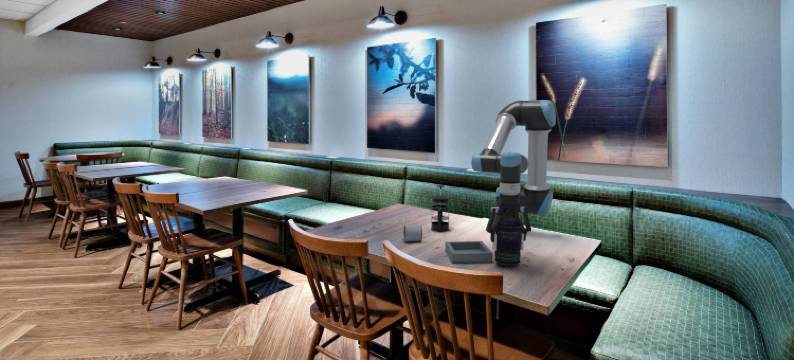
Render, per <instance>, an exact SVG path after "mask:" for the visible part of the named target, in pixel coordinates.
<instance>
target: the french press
mask: <svg viewBox="0 0 794 360" xmlns="http://www.w3.org/2000/svg"><path fill="white" fill-rule="evenodd" d="M436 187H438V188H439V195H433V196H431V198H432V202H433V203H437V204H433V205H431V211H435V212H437V214H436V215H432V216H431V220H434V221H431V227H430V230H431V231H433V232H437V233H444V232H448V231H450V216H447V215H443V212H446V211H447V212H449V211H450V206H449V205H447V204H446V203H449V201H450V200H449V199H450V196H447V195H442V189H443V188H445V187H446V186H445V185H443V184H438V185H436ZM447 220H448V221H447Z"/></svg>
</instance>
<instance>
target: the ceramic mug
mask: <svg viewBox="0 0 794 360" xmlns="http://www.w3.org/2000/svg"><path fill="white" fill-rule="evenodd" d="M422 238H423V229H422V226H421V225H413V224H405V225H404V226H403V241H404V243H405V242H420V241H422V240H423V239H422Z"/></svg>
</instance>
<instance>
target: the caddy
mask: <svg viewBox="0 0 794 360" xmlns="http://www.w3.org/2000/svg"><path fill="white" fill-rule="evenodd" d="M444 250H445V252H446V255H447V256H448V258H449V260H450V261H451V264H485V263H487V264H488V263H489V264H490V263H493V251H491V250H490V248H489V247H488V246H487V245H486V244H485V243H484V241H483V240H464V241H463V240H462V241H460V240H459V241H445V249H444Z"/></svg>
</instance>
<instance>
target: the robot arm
mask: <svg viewBox="0 0 794 360" xmlns="http://www.w3.org/2000/svg"><path fill="white" fill-rule="evenodd" d="M556 119H557V115H556V107H555V104H554V102H553V101H551V100H549V99H547V100H546V99H545V100H544V99H539V100H538V99H537V100H535V99H534V100H532V99H531V100H516V101H513V102H511V103H509V104H507V105H506V106H505V107H503V108H502V109H500V111H499V113H498V114H497V116H496V118H495V124H494V126H493V129H492V130H491V133H490V135H489V137H488V139H487V141H486V143H485V145H484V147H483V149H482V151H481V152H480V153H474V154H473V155H472V157H471V161H470V162H471V164H470V165H471V169H472V170H473V172H479V173H492V174H496V173H497V174H500V175H499V187H497V188H496V190H495V191H496V192H495V207H494V206H491V207H490V214H489V218H488V222H487V223H486V224H487V225H486V227H485V231H486V233H488V234H490V239H489V240H490V242H491V243H492V249H493V252H495V251H496V247H497V234H496V233H495V232H496V231H497V229H498V225H500V224H501V222H502V221H515V222H517V223H518V224H519V225H521V224H522V227H521V231H522V234H521V239H520V248H521V251H524V242H526V241H527V234H528V233H529V232H531V231H532V226H531V223H530V218H529V215H528V214H530V215H532V214H533V215H537V216H538V215H540V216H541V215H542V216H543V215H544V216H546V215H547V214H549V212H550V210H551V206H552V203H553V196H554V192H553V191H552V190H550V186H549V185H548V184H547V171H548V170H547V167H548V144H549V142H548V141H549V140H548V138H549V133H550V132H551V131H552V128H553V127H554V126H555V125H556V124H557V123H556V121H557V120H556ZM519 126H520V127H524V130H525V132H526V133H527V135H528V141H527V143H528V145H527V156H526V155H524V154H521V152H515V151H514V152H513V151H510V152H509V151H508V152H507V151H506V152H502V151H503V149H504V147H505V145H506V143H507V140H508V138H509V136H510V134H511V132H512V130H514V129H515V128H516V127H519ZM526 171H527V179H526V182H527V183H526V184H524V186H523V188H521V177H522V175H521V174H523V173H525V172H526ZM520 213H521V214H522V218H523V222H524V224H523V222H522V220H521V218H520Z"/></svg>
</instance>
